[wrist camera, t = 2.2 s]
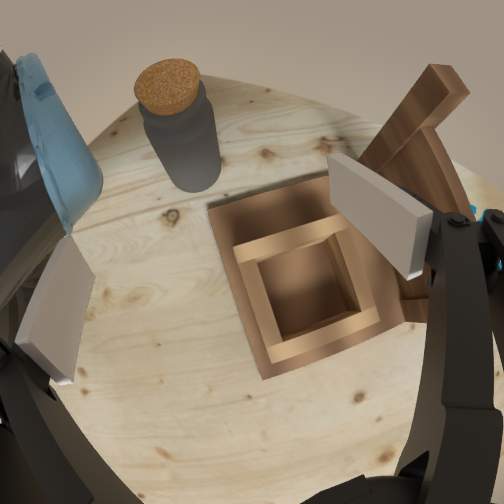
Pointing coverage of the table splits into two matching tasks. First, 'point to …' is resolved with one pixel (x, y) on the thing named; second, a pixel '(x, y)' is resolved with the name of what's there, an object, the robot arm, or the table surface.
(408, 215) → the robot arm
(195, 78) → the bottle
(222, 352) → the table surface
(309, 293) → the wooden holder stand
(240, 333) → the table surface
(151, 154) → the table surface
